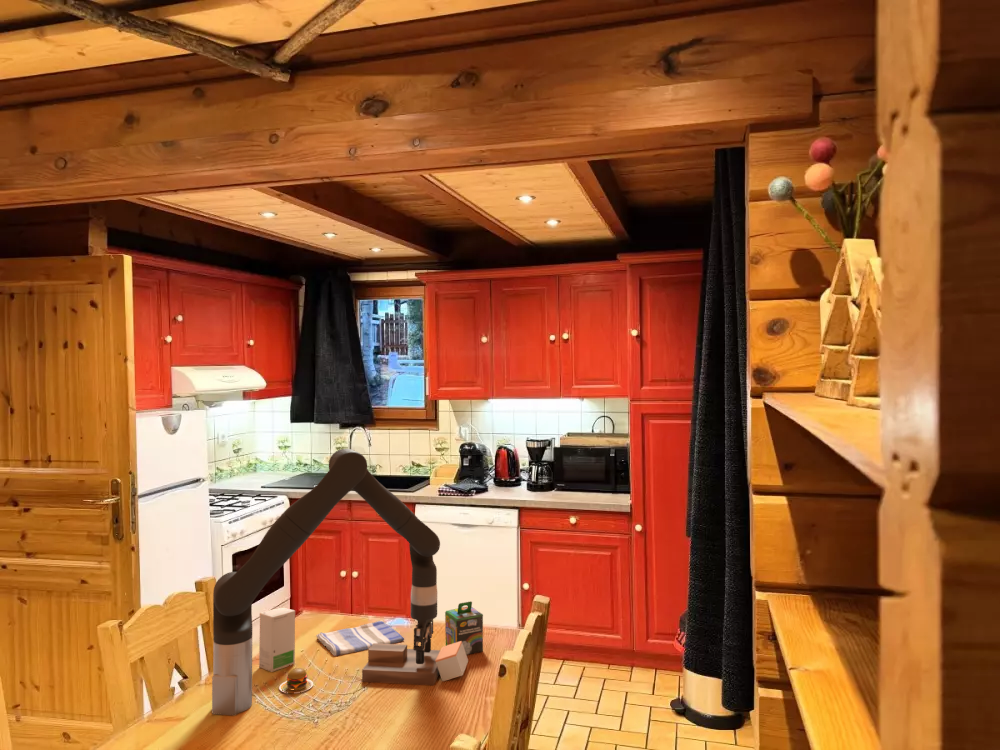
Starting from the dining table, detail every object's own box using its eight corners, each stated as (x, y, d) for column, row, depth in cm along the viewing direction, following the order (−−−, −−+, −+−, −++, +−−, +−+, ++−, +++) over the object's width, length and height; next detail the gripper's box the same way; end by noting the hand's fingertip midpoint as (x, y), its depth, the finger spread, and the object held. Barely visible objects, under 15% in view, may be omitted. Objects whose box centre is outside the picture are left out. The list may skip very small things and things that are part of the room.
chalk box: (471, 642, 220) (471, 595, 220) (484, 651, 212) (484, 603, 212) (444, 647, 215) (444, 599, 215) (456, 657, 207) (456, 607, 207)
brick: (435, 660, 191) (442, 681, 191) (455, 654, 191) (462, 675, 190) (442, 646, 201) (448, 666, 201) (461, 640, 201) (468, 660, 200)
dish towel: (315, 640, 222) (315, 631, 222) (384, 627, 235) (384, 618, 235) (332, 659, 207) (332, 649, 208) (405, 643, 220) (405, 634, 220)
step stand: (433, 685, 188) (433, 660, 188) (362, 681, 190) (362, 657, 190) (445, 661, 204) (445, 639, 204) (378, 658, 206) (378, 636, 206)
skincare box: (271, 673, 196) (271, 617, 196) (257, 667, 200) (257, 613, 200) (296, 663, 203) (296, 610, 203) (282, 658, 207) (282, 605, 207)
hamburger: (267, 686, 189) (267, 666, 189) (311, 676, 195) (311, 656, 195) (280, 703, 179) (280, 682, 179) (325, 692, 185) (325, 671, 185)
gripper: (431, 608, 189) (431, 668, 189) (442, 593, 203) (441, 648, 203) (404, 607, 190) (404, 667, 190) (417, 592, 204) (416, 647, 204)
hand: (423, 657), depth 196 cm, fingers open, 8 cm apart
